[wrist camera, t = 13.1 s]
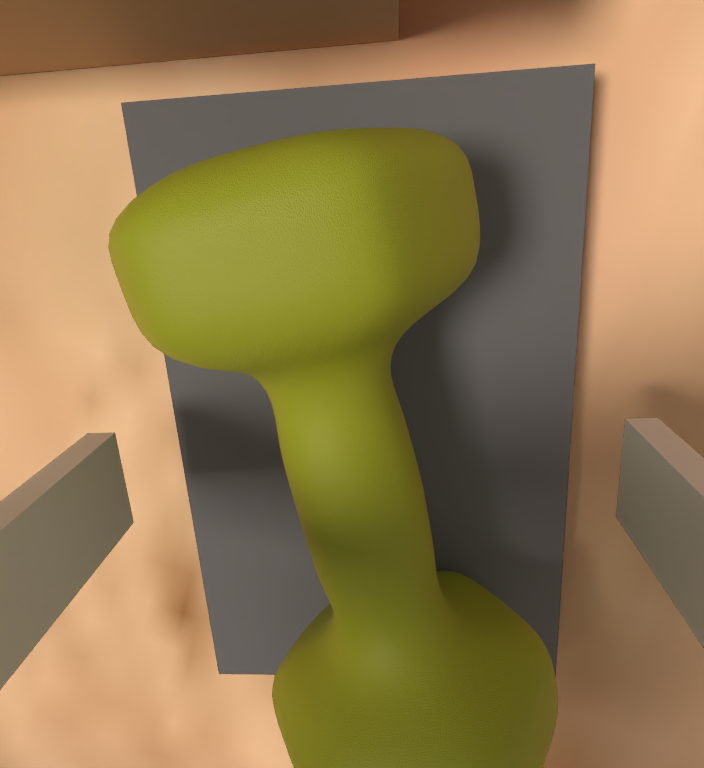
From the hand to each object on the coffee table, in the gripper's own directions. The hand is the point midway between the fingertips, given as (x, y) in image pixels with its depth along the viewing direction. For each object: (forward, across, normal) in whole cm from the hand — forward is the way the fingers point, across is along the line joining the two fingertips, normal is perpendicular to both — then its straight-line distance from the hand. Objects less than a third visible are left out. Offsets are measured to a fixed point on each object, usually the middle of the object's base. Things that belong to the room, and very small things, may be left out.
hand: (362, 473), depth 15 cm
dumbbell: (+3, 0, 0) cm, 3 cm away
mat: (+4, 0, 0) cm, 4 cm away
